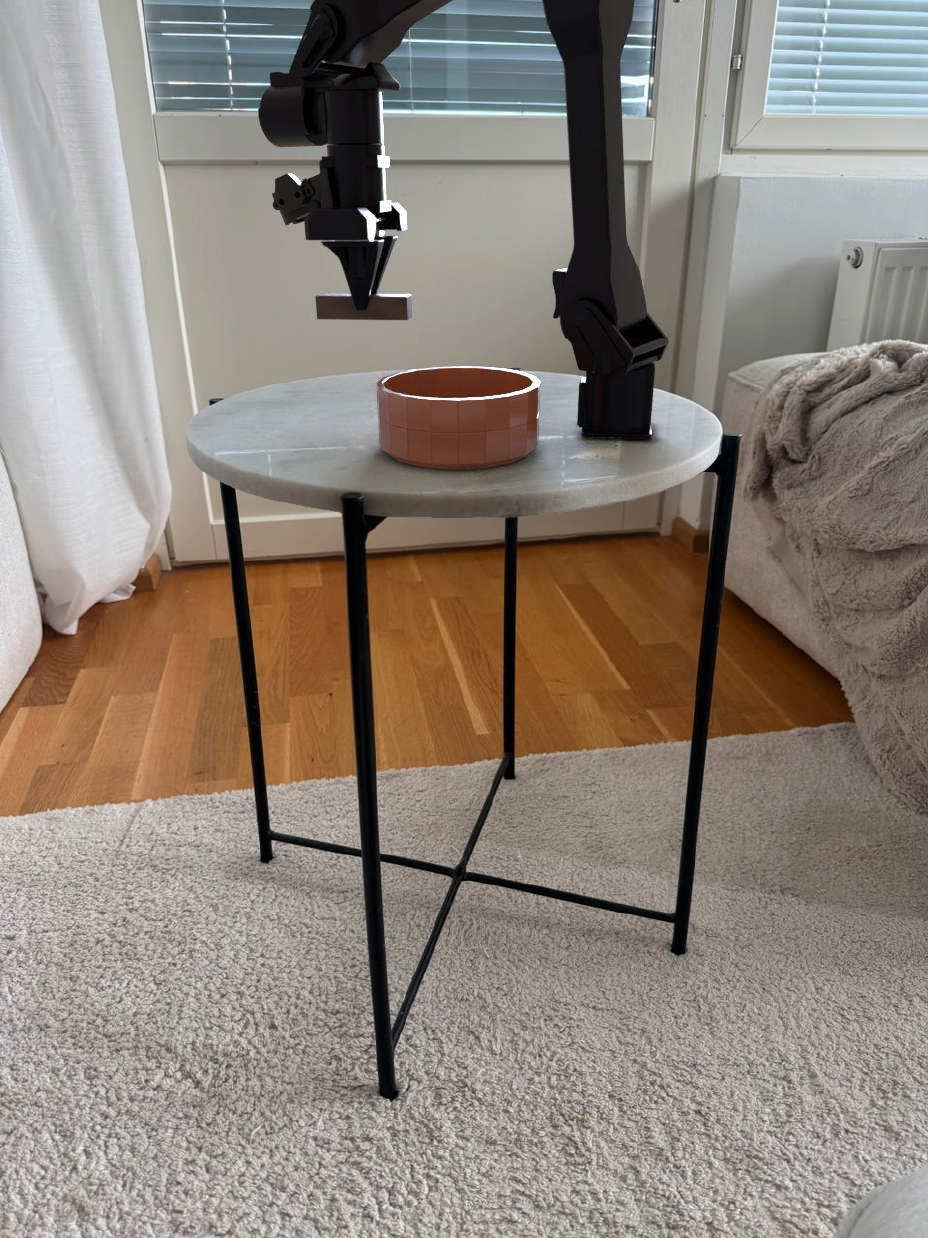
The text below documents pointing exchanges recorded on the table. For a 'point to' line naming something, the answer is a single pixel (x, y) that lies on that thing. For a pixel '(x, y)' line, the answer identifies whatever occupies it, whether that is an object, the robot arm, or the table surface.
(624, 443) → the table surface
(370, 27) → the robot arm
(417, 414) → the bowl
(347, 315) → the stick
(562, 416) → the table surface
